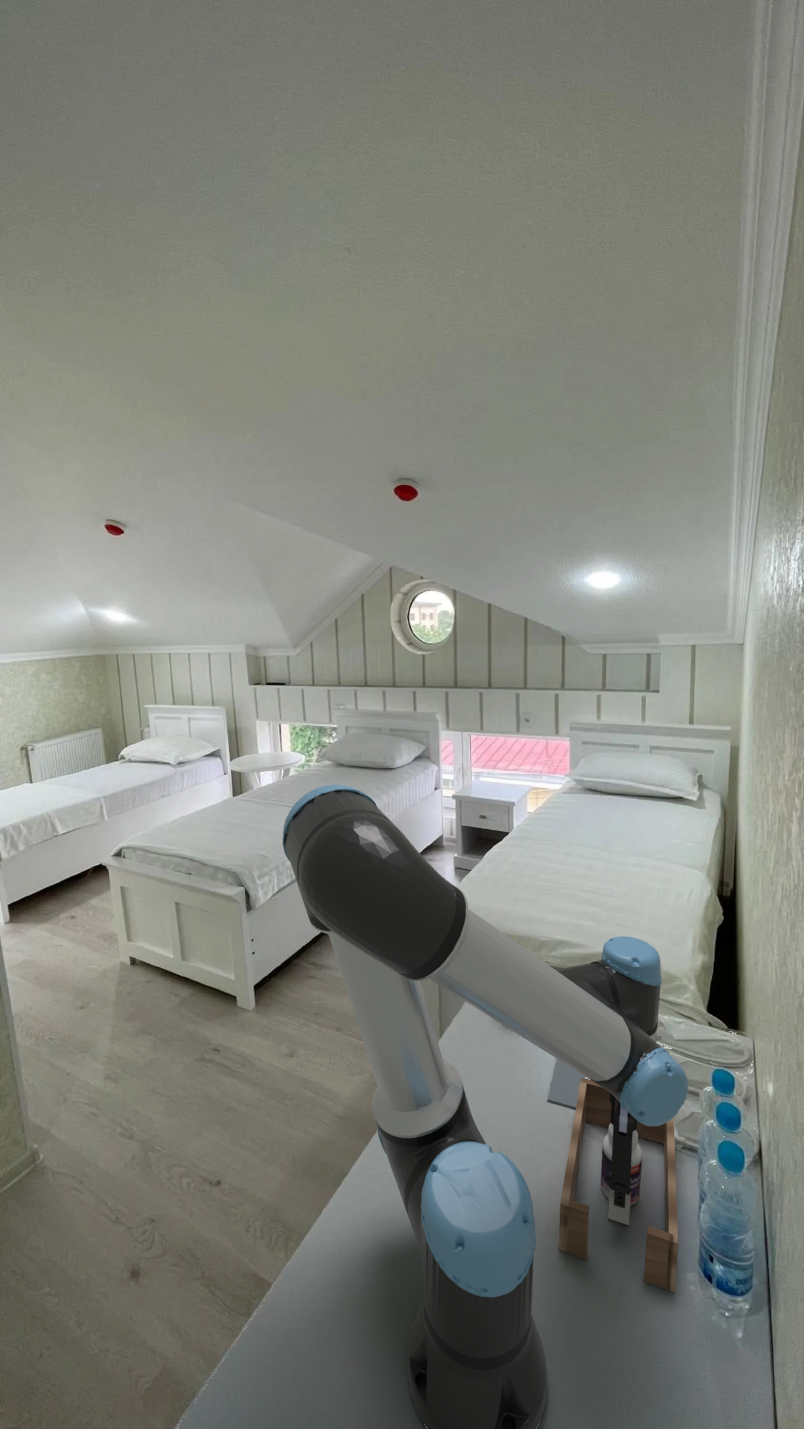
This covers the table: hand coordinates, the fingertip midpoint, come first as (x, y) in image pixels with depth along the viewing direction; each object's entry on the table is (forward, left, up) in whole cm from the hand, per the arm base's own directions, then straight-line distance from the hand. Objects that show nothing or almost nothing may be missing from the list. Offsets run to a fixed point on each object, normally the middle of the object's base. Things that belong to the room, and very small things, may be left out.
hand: (620, 1189), depth 89 cm
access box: (0, 0, 0) cm, 0 cm away
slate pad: (+19, +7, 0) cm, 20 cm away
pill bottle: (0, 0, 0) cm, 0 cm away
